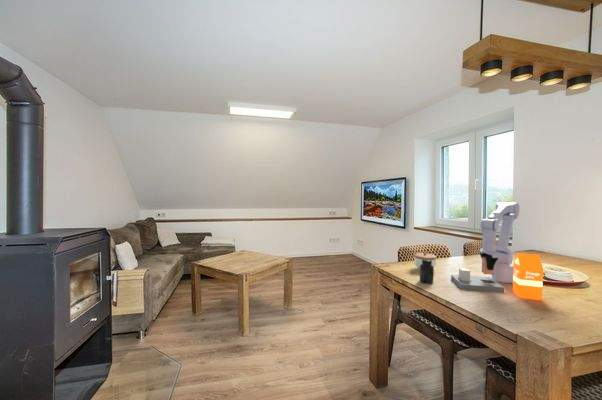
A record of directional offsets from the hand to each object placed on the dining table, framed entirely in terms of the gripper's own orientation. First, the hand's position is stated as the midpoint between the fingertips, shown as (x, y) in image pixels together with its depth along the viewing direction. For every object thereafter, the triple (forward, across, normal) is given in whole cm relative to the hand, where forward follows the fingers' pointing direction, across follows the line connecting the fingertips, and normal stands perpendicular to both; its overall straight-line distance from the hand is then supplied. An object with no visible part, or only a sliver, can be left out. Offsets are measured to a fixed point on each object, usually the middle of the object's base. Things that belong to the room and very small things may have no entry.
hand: (488, 268), depth 142 cm
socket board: (+9, 0, -6) cm, 11 cm away
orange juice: (+10, +10, +12) cm, 19 cm away
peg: (+2, 0, 0) cm, 3 cm away
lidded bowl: (+10, -24, -26) cm, 36 cm away
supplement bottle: (+10, 0, -30) cm, 31 cm away
